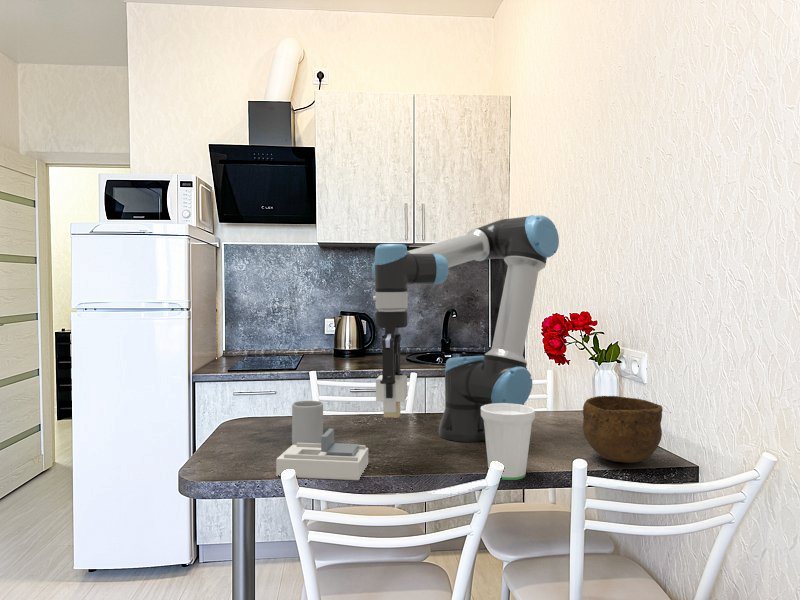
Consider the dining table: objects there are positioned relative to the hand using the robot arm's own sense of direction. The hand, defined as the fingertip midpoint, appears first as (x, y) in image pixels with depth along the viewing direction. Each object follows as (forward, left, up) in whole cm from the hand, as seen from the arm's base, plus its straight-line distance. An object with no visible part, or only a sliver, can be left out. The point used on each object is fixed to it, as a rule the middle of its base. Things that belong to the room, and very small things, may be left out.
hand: (392, 408), depth 136 cm
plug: (0, 0, -2) cm, 2 cm away
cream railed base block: (+16, +2, -15) cm, 22 cm away
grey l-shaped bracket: (+12, +2, -10) cm, 16 cm away
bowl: (-56, -15, -15) cm, 59 cm away
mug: (+26, -22, -15) cm, 37 cm away
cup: (-27, -1, -15) cm, 31 cm away
